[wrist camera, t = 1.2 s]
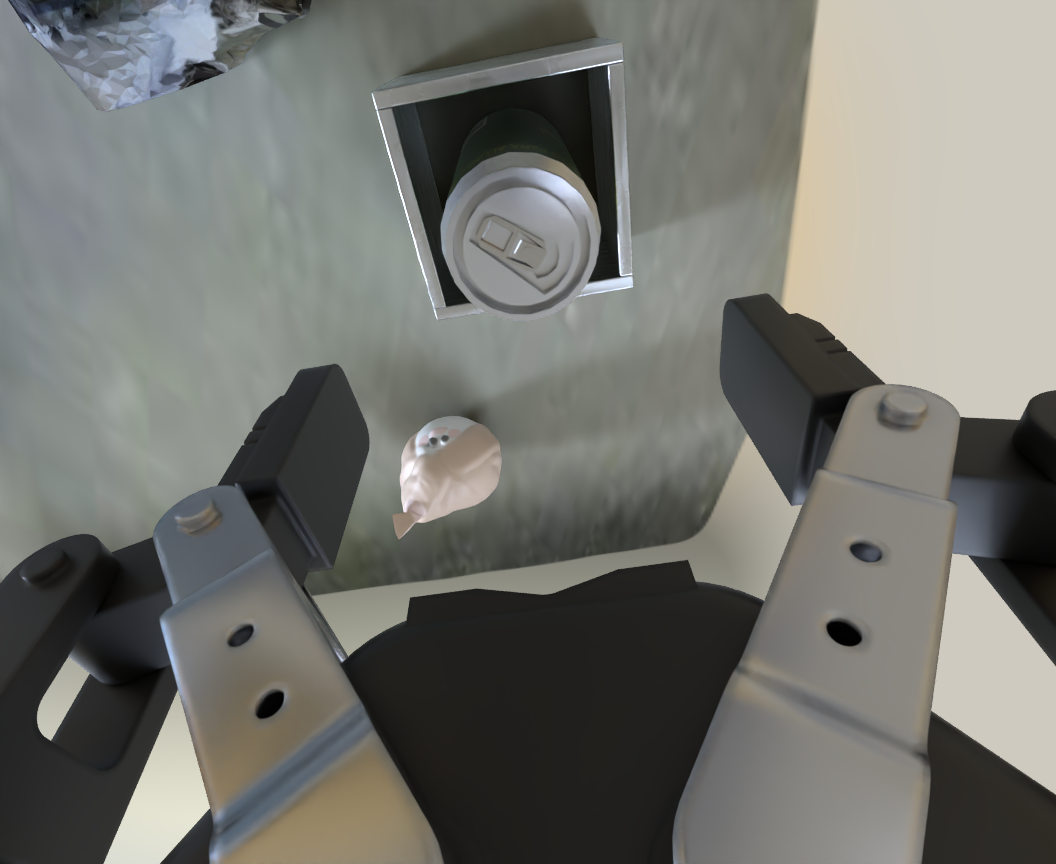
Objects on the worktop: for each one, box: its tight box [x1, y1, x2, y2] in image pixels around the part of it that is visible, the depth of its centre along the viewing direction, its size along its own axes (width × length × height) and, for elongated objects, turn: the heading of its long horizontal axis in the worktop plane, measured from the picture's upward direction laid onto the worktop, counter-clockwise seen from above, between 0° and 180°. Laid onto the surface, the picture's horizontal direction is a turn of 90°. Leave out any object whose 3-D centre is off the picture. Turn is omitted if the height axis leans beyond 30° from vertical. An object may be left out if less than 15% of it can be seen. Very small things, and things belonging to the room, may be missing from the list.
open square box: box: [372, 37, 634, 320], centre depth 24 cm, size 9×9×6 cm
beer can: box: [440, 108, 601, 320], centre depth 22 cm, size 5×5×12 cm
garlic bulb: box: [393, 416, 502, 539], centre depth 34 cm, size 7×6×8 cm
